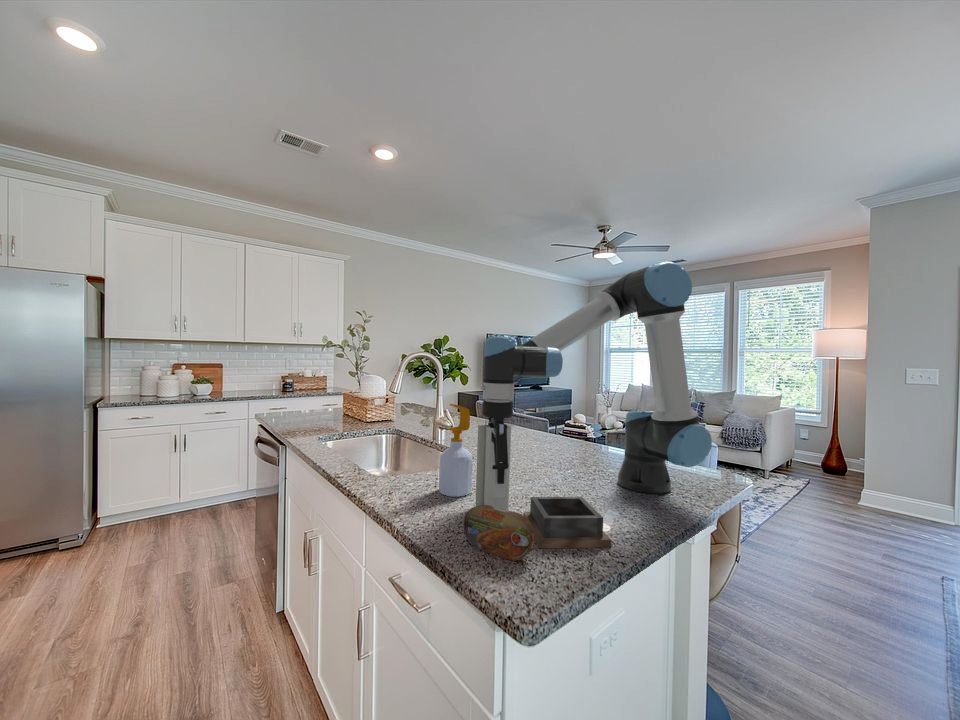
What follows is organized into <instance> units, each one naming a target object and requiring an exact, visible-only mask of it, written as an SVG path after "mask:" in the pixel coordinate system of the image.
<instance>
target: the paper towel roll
mask: <svg viewBox="0 0 960 720" xmlns="http://www.w3.org/2000/svg"><path fill="white" fill-rule="evenodd" d="M491 432H493V433H494V437H496V433H495V431H494V428H490V426H489V425H488V424H482V425H477V445H476V446H477V449H476V482H475V484H476V485H475V486H476V487H475V507H476V506H480V505H489V506H493V507H497V508H501V509H505V510H509V509H510V508H509V507H510V483H511V482H510V481H511V480H510V479H511V478H510V475H511V450H512V449H511V448H512V447H511V445H512V442H511V441H512V426H510V425H507V450H508V465H509V467H508V469H506V496H505V497H493V488H494V469H492V466H493V465H495V455H494V443H493V442H492V441H491ZM500 435H502V434H500ZM500 463H503V462H500ZM509 511H510V510H509Z"/></svg>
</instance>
